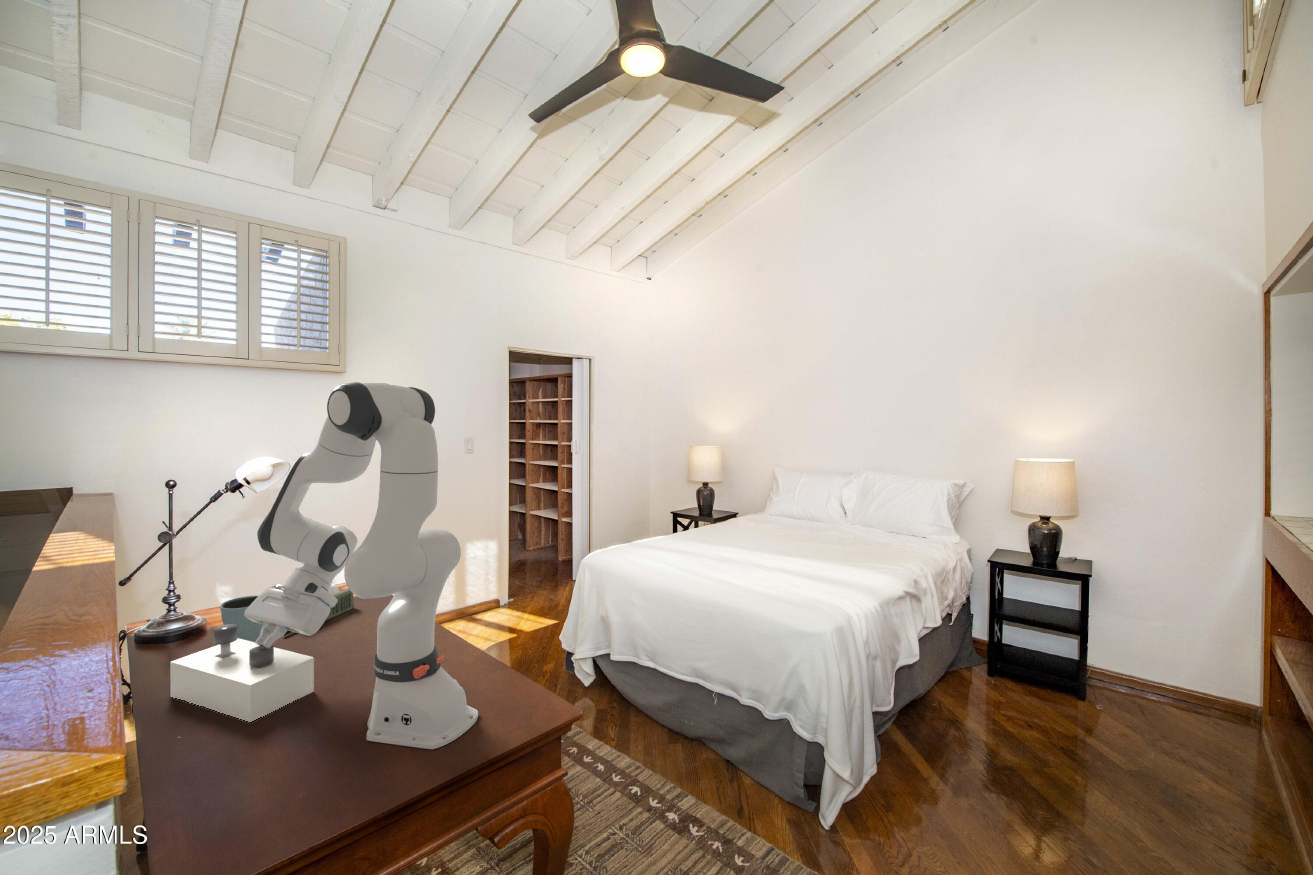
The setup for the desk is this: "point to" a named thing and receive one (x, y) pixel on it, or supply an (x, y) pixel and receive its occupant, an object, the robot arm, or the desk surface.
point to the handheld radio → (339, 604)
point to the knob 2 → (261, 656)
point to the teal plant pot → (241, 617)
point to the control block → (241, 680)
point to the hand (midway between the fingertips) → (261, 645)
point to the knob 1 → (225, 638)
